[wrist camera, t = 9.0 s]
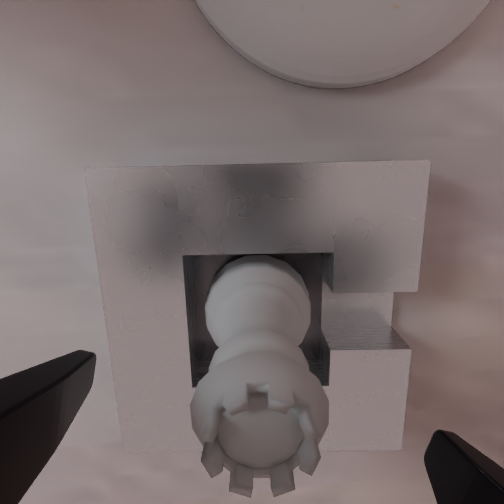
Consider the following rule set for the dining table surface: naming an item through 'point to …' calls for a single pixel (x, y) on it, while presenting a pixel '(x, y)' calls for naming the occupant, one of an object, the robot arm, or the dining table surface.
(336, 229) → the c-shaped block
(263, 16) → the candlestick
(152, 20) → the dining table surface
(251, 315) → the rook chess piece
